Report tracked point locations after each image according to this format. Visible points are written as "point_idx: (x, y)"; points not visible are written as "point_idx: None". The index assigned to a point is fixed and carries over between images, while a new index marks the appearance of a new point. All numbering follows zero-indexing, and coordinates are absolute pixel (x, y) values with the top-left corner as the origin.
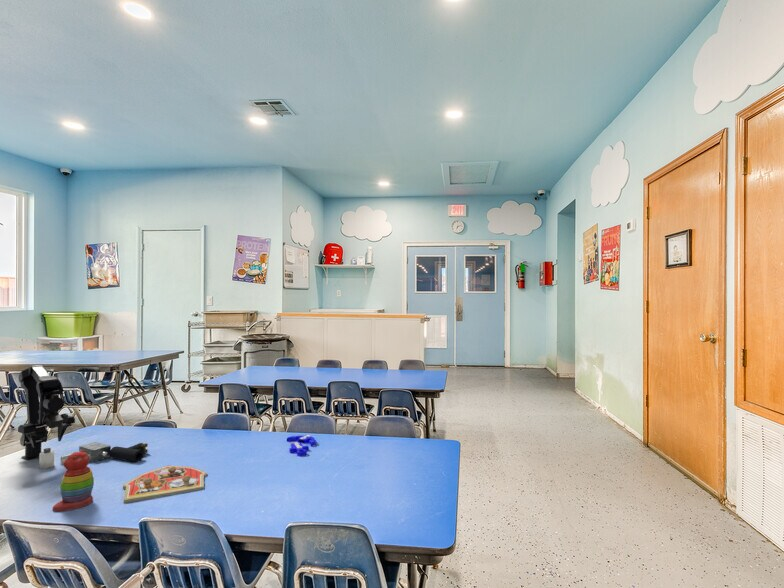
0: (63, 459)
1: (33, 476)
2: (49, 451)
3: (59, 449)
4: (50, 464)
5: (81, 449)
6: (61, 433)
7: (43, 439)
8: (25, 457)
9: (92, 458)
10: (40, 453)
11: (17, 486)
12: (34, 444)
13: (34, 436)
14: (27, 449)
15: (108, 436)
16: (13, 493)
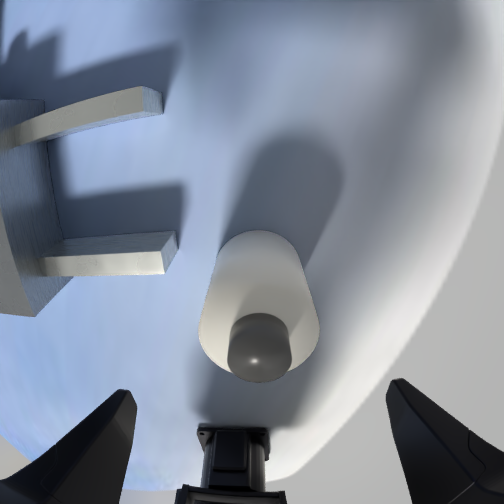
0: (157, 242)
1: (395, 132)
2: (248, 320)
3: (135, 440)
4: (250, 237)
5: (34, 277)
6: (76, 458)
7: (189, 499)
8: (264, 448)
9: (32, 117)
10: (307, 348)
11: (482, 59)
12: (421, 399)
13: (482, 475)
14: (262, 475)
15: (5, 406)
16: (499, 3)
